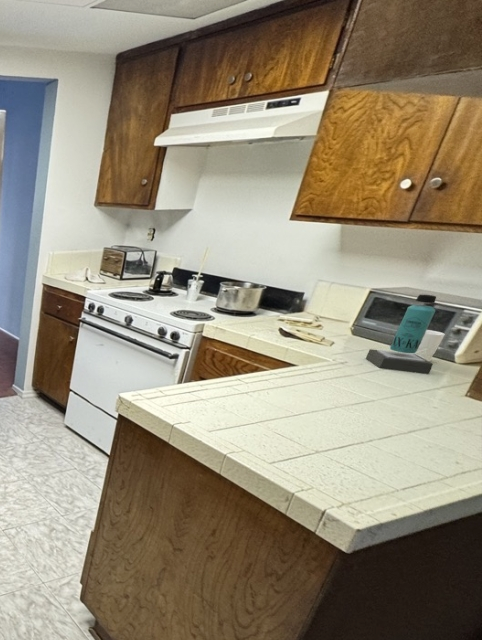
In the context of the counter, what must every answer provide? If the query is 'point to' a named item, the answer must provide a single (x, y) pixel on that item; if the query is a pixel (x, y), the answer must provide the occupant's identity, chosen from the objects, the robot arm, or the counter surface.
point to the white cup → (429, 344)
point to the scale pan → (400, 355)
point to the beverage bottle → (413, 326)
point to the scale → (398, 363)
